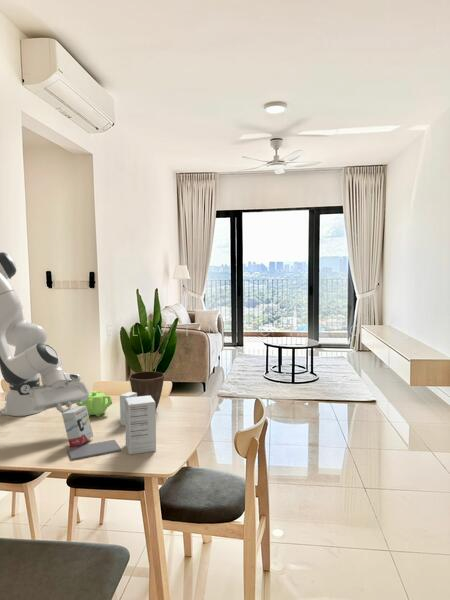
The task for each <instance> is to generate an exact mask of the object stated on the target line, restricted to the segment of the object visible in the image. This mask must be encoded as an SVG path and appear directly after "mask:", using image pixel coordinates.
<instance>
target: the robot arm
mask: <svg viewBox="0 0 450 600" xmlns="http://www.w3.org/2000/svg"><path fill="white" fill-rule="evenodd" d="M17 271H18V270H17V265H16V262H15V261H14V259H13V257H11V256H10V255H8V253H6V252H3V251H1V252H0V373H1V376H2V379H4V381H5V382H6V383H7V384H8V385H9V387H8V388H9V391H8V392H7V393H6V394H5V398H4V401H5V404H4V407H3V409H2V410H1V412H0V415H5V416H6V415H7V416H12V417H13V416H14V417H21V416H23V417H24V416H29V415H34V414H37V413H41V412H42V411H45V410H49V409H54V408H56V410H57V411H58V412H59V413H61V415H62V414H63V413H65V412H67V411H68V410H70V409H72V405H73V404H76V403H79V402H84V401H86V400H87V399H88V397H89V393H90V392H89V389H88V387H87V385H86V384H85V382H84V381H83V380H81V379H82V377H81V375H80V374H76V373H69V372H68V373H67V372H66V371H65V369H64V368H63V364H62V361H61V358H60V356H59V353H58V352H57V350H56V349H55V348H54V346H52V345H50V344H46V342H47V340H48V334H47V331H46V330H45V328H44V327H42V326H40V325H38V324H37V323H33V322H28V321H27V320H26V319H25V317H24V313H23V305H22V302H21V299H20V298H19V296H18V294H17V292H16V291H15V289H14V287H13V286H12V284H11V283H10V281H8V279H9V280H12V277H14V276H15V275H16V273H17ZM9 346H12V347H15V350H14V354H12V352H11V349H10V347H9ZM39 374H40V377H41V378H40V377H39ZM41 383H42V385H41ZM64 406H65V407H66V409H65V408H64Z"/></svg>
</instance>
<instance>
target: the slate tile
mask: <svg viewBox="0 0 450 600" xmlns="http://www.w3.org/2000/svg"><path fill="white" fill-rule="evenodd" d="M66 449H67V453H68V455H69V458H70V460H71V461H75V460H80V459H85V458H90V457H95V456H96V457H97V456H102V455H108V454H112V453H118V452H121V451H122V448H121V446H120V445H119V444H118V442H117V441H116V440H115V439H110V440H106V441H105V440H104V441H99V442H94V443H93V442H92V443H87V444H82V445H78V446H73V447H70V446H69V447H67V448H66Z"/></svg>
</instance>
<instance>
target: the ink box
mask: <svg viewBox="0 0 450 600" xmlns="http://www.w3.org/2000/svg"><path fill="white" fill-rule="evenodd" d="M61 416H62V420H63V424H64V428H65V431H66V432H65V433H66V436H67V441H68V446H69V448H70V447H75V446H81V445H85V443H86V442H88V441H89V440H91V439H92V438H93V437H94V433H93V429H92V425H91V420H90V416H88V412H87V408H86V405H85V406H74V407H73V408H72V407H71V409H70V410H68V411H67V412H65V413H63V414H62V413H61Z"/></svg>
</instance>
